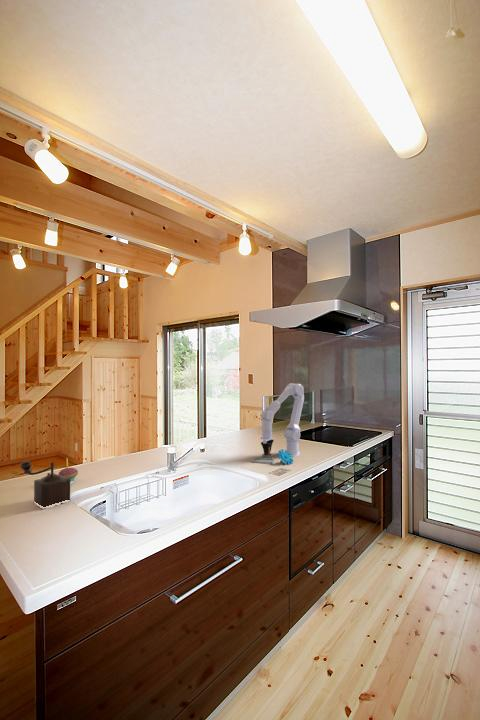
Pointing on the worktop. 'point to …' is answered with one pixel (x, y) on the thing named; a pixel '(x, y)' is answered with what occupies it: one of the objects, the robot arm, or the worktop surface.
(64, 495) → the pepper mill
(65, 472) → the cupcake
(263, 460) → the grey tray
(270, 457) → the charcoal cup
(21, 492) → the worktop surface
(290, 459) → the gear
